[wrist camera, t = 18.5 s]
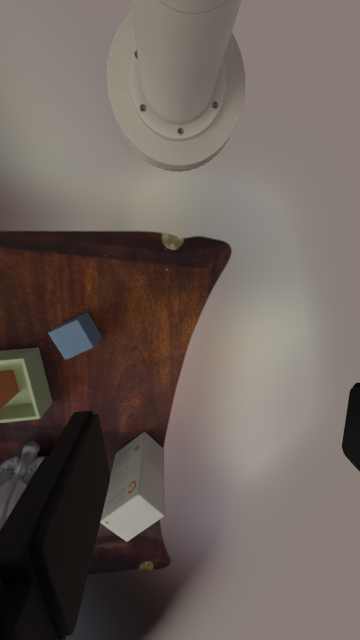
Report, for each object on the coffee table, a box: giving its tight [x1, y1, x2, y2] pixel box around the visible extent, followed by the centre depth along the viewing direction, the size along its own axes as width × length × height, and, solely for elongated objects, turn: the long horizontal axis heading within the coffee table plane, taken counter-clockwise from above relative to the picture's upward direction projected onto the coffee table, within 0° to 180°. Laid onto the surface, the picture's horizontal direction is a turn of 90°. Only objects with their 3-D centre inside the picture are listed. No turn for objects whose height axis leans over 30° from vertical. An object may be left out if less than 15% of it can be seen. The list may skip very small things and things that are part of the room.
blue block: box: [48, 312, 102, 360], centre depth 38 cm, size 5×5×5 cm
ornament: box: [0, 441, 48, 530], centre depth 38 cm, size 18×20×20 cm
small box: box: [100, 432, 165, 541], centre depth 41 cm, size 8×6×13 cm
